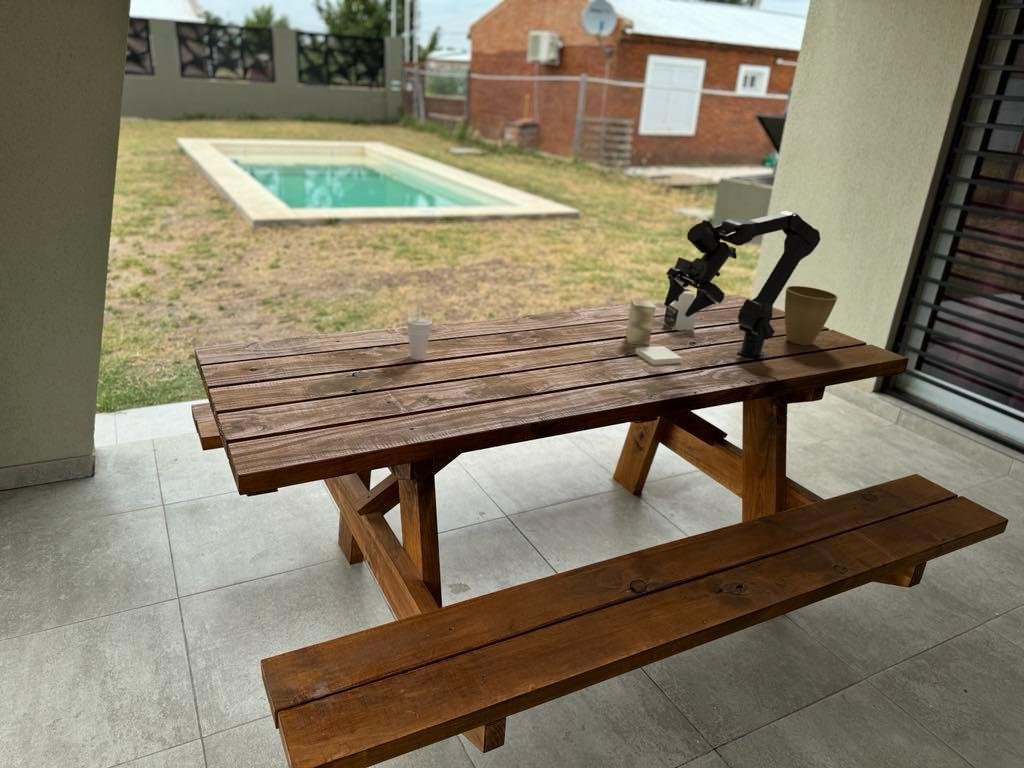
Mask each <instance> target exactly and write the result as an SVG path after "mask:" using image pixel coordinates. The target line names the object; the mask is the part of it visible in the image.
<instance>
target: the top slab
mask: <svg viewBox="0 0 1024 768" xmlns="http://www.w3.org/2000/svg"><path fill="white" fill-rule="evenodd" d="M634 354H636V355H637V354H638V356H639V357H640V356H641V358H642V359H643V358H644V359H643V360H645V361H646V360H647V361H646V362H648V363H649V362H650V363H649V364H651V365H653V366H657V365H672V364H682V361H683V357H682V356H680V355H679V354H677V353H676V352H673V350H670V349H669V348H667V347H665V346H664V345H663V346H645V347H643V346H642V347H641V346H640V347H636V348H635V352H634Z"/></svg>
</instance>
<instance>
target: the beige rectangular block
mask: <svg viewBox="0 0 1024 768" xmlns="http://www.w3.org/2000/svg"><path fill="white" fill-rule="evenodd" d="M656 309H657V308H656V305H655V303H654V301H651V300H643V299H642V300H641V299H633V298H632V299H631V302H630V310H629V315H628V322H627V327H626V333H625V338H626V340H627V343H628V344H637V345H648V346H649V345H650V342H651V337H652V331H653V325H654V319H655V314H656Z"/></svg>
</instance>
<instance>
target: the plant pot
mask: <svg viewBox="0 0 1024 768" xmlns="http://www.w3.org/2000/svg"><path fill="white" fill-rule="evenodd" d="M784 297H785V299H784V325H785V326H784V327H785V328H784V329H785V336H786V340H787V341H789V343H793V344H796V345H800V346H810V345H812V344H813V343H814V341H815V340H816V339H817V337H818V336H819V334H820V332H821V331H822V330H823V328H824V326H825V325H826V323H827V321H828V320H829V317H830V315H831V313H832V311H833V309H834V307H835V305H836V303H837V300H838V295H836V294H835V293H833V292H831V291H827V290H823V289H820V288H816V287H811V286H801V285H789V286H787V287H786V288H785V296H784Z"/></svg>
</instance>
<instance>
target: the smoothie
mask: <svg viewBox="0 0 1024 768" xmlns="http://www.w3.org/2000/svg"><path fill="white" fill-rule="evenodd" d="M420 304H421V303H419V302H418V303H417V305H416V306H417V308H416V311H417V312H416V316H413V317H410V318H407V319H406V325H407V333H408V342H409V343H408V344H409V355H410V359H412V360H416V361H421V360H422V361H423V360H425V359H426V356H427V355H426V354H427V349H428V346H429V345H428V343H429V339H430V334H431V329H432V327H433V321H432V320H431V319H430V318H427V317H422V316H420Z"/></svg>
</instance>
